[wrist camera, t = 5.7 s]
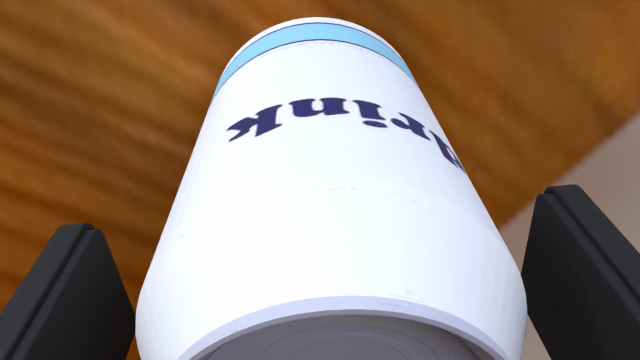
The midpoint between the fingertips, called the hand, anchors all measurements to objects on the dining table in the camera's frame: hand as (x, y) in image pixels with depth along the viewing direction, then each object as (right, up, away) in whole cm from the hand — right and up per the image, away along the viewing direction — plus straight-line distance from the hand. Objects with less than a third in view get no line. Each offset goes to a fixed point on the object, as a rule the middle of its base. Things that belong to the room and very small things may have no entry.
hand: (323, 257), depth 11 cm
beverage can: (0, +4, +7) cm, 8 cm away
